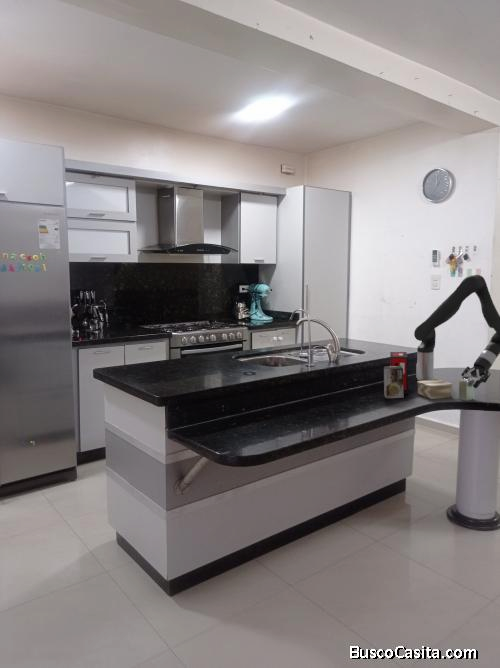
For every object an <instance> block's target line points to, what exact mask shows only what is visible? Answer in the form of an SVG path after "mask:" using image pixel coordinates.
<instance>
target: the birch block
mask: <svg viewBox="0 0 500 668" xmlns="http://www.w3.org/2000/svg"><path fill="white" fill-rule="evenodd" d="M416 384H417V395H420V396H423V397H425V398H428V399H431V400H435V399H444V398H449V397H450V398H452V393H453V392H452V388H453V386H454V385H453V383H451V382H448V381H445V380H441V379H438V378H434V379H433V380H425V381H420V380H418V381H416Z"/></svg>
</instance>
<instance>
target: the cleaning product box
mask: <svg viewBox="0 0 500 668" xmlns="http://www.w3.org/2000/svg"><path fill="white" fill-rule="evenodd" d="M389 355H390V357H389V358H390V361H389V363H390V364H389V366H401V367H402V368H403V391H404V394H409V372H408V370H409V369H408V368H409V367H408V366H409V362H408V361H409V358H408V352H406V351H390V352H389Z"/></svg>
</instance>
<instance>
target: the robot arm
mask: <svg viewBox="0 0 500 668" xmlns="http://www.w3.org/2000/svg"><path fill="white" fill-rule="evenodd" d="M474 293H475V294H476V296H477V298H478V300H479V302H480V306H481V313H482V316H483V318H484V320H485V322H486V324H487V326H488V327H489V328H491V329H494V331H495V333H494V334H492V336H491V338H490V339H489V342H488V344H487V345H486V347H485V348H484V349H483V351H482V352H481V353H480V354H479V356H478V357H477V359H475V361H474V363H473V366H472V367H470V366H466V368H465V369H464V370H463V371H462V373H461V374H460V375H461V377H462V378H461V379H465V378H468V379H472V378H476V379H477V380H476V381H475V382H474V385H473V387H474V389H477V388H479V386H480V385H481V384H482V383H484V384H485V383H486V382H487V381H488V379H489V378H490V376H491V373H490V369H491V367H492V366H493V365H494V363H495V362H496V360H497V358H498V356H499V355H500V314H499V312H498V310H497V308H496V306H495V304H494V302H493V299H492V296H491V294H490V290H489V287H488V285H487V281H486V279H485V278H484V277H483V276H482V275H481V274H473V275H468V276H466V277H465V278H464V279H462V281H461V282H460V284H459V285H458V286H457V287H456V289H455V290H454V291H453V292H452V293H451V294H450V295H449V296H448V297H447V298H446V299H445V300H444V301H443V302H441V304H439V305H438V307H437V308H436V309H435V310H434V311H433V312H432V313H431V314H430V315H429V316H428V318H426V320H424V321H423V322H422V323H421V324H419V325H418V326H417V327H416V328H415V330H414V333H413V336H414V338H415V339H416V341H419V342H420V344H419V345H418V346H417V348H416V349H417V351H416V352H417V354H416V355H417V358H416V360H417V361H416V362H417V363H416V364H415V365H416V367H415V368H416V373H415V374H416V375H415V376H416V378H417V380H418V381H425V380H433V379H435V377H434V376H435V375H434V374H435V373H434V371H435V369H434V362H435V361H434V359H435V357H434V356H435V354H434V352H435V351H434V349H435V347H436V339H437V338H436V335H437V334H436V329H437V328H438V327H439V326H441V325H442V324H444V323H446V322H447V321H449V320H450V319H451V318H452V317H454V316H455V315H456V314H457V313H458V312H459V310H460V308H461V306H462V304H463V302H464V301H465V300H466V299H467V298H468V297H469V296H471V295H472V294H474ZM416 378H415V379H416Z"/></svg>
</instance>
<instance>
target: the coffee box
mask: <svg viewBox="0 0 500 668" xmlns="http://www.w3.org/2000/svg"><path fill="white" fill-rule="evenodd" d="M383 385H384V386H383V387H384V388H383V389H384V390H383V392H384V394H383V395H384V398H385V399H404V398H405V397H404V396H405V395H404V394H405V393H404V391H403V368H402V367H401V366H390V365H387V366H386V365H385V366H383Z"/></svg>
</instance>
